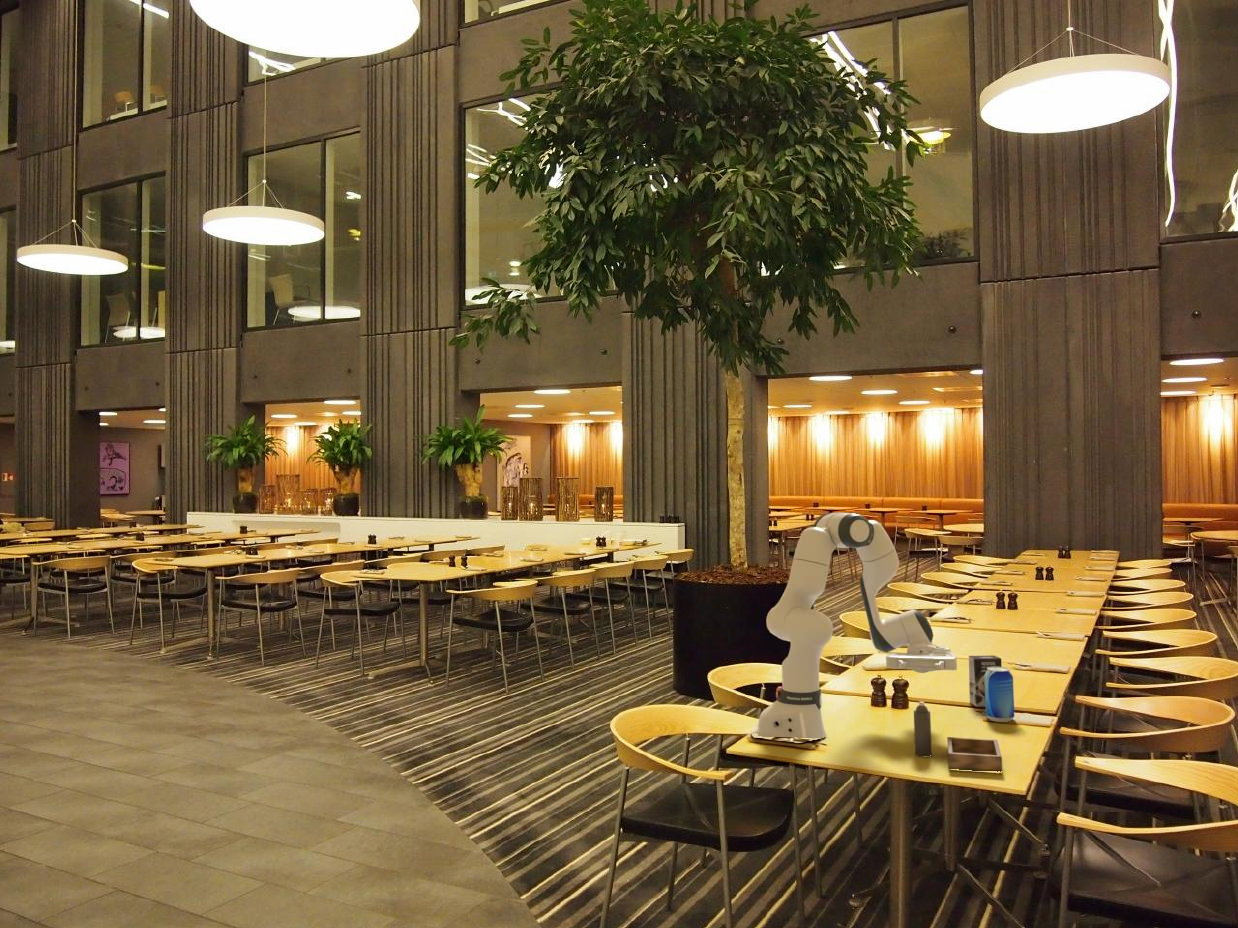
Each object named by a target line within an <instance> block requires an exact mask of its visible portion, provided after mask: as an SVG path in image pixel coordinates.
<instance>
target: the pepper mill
mask: <svg viewBox="0 0 1238 928" xmlns="http://www.w3.org/2000/svg"><path fill="white" fill-rule="evenodd" d="M931 722H932V721H931V711H929V710H928V707H927V706H926V705H925V701H918V705H917V706H916V708H915V710H913V726H914V727H913V729H914V734H913V735H914V755H915V754H916V755H919V756H930V755H933V752H932V749H933V747H932V723H931ZM916 755H915V756H916ZM919 756H918V757H919ZM930 757H931V756H930Z"/></svg>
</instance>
